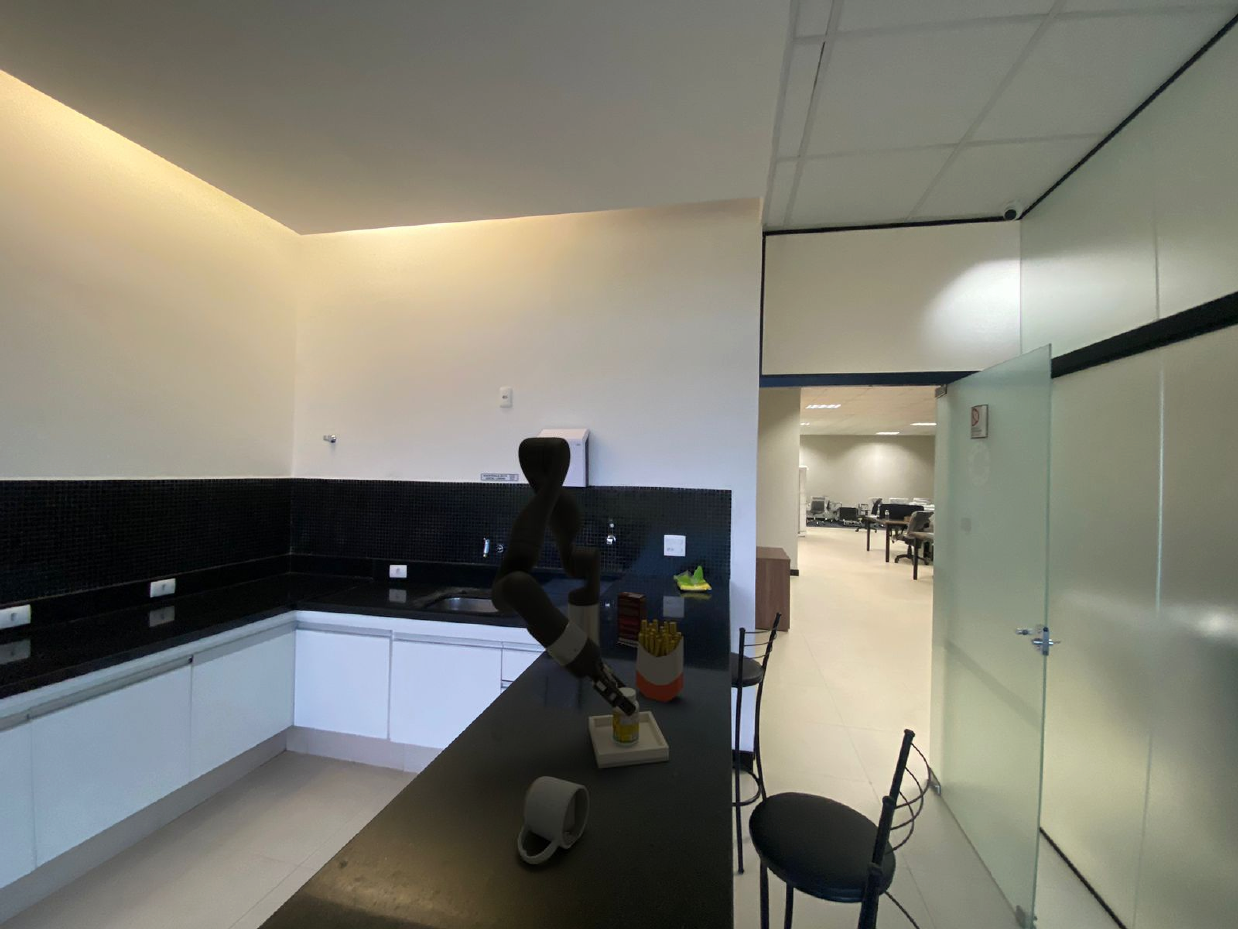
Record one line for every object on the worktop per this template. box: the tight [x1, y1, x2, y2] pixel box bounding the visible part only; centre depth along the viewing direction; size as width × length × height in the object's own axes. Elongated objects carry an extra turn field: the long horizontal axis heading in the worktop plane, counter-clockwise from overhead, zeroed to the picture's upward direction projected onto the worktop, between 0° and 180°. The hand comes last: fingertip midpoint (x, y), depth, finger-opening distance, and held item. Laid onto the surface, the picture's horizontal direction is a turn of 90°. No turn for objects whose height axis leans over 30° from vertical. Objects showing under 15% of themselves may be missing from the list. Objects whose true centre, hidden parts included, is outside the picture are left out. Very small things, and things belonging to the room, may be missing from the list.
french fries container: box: [635, 619, 684, 703], centre depth 114 cm, size 5×11×18 cm, turn 66°
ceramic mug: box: [517, 776, 590, 861], centre depth 69 cm, size 11×8×8 cm
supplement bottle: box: [612, 686, 640, 746], centre depth 94 cm, size 5×5×10 cm
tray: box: [588, 710, 670, 769], centre depth 94 cm, size 14×14×2 cm
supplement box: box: [616, 591, 648, 649], centre depth 148 cm, size 9×5×16 cm, turn 58°
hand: (628, 701), depth 94 cm, fingers open, 8 cm apart
